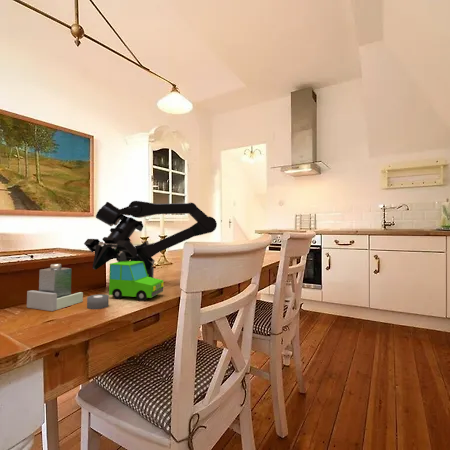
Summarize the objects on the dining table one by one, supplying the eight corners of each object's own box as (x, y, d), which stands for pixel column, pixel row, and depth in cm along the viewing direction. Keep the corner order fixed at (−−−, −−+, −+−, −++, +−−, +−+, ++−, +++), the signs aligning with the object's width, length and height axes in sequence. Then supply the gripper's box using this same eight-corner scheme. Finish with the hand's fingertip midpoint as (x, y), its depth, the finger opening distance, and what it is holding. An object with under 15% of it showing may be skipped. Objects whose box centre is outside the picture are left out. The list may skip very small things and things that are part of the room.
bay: (59, 298, 77) (59, 284, 77) (82, 301, 74) (82, 286, 74) (26, 307, 68) (27, 291, 68) (52, 311, 66) (52, 294, 66)
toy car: (150, 303, 75) (151, 266, 75) (106, 299, 77) (107, 264, 77) (165, 294, 85) (166, 262, 85) (126, 291, 87) (127, 260, 87)
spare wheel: (97, 302, 74) (97, 293, 74) (112, 304, 72) (112, 295, 72) (82, 308, 69) (82, 297, 69) (98, 310, 67) (98, 299, 67)
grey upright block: (56, 300, 74) (57, 262, 74) (70, 302, 73) (71, 263, 73) (38, 305, 69) (39, 265, 69) (53, 307, 68) (54, 266, 68)
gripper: (155, 249, 95) (130, 287, 85) (116, 246, 103) (89, 281, 93) (138, 226, 88) (110, 264, 78) (98, 225, 96) (67, 260, 86)
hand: (94, 268), depth 84 cm, fingers closed
